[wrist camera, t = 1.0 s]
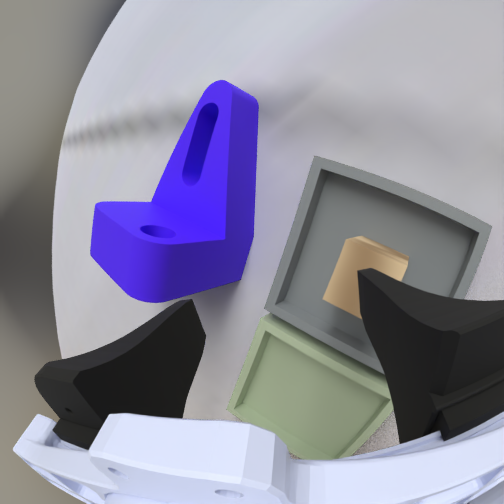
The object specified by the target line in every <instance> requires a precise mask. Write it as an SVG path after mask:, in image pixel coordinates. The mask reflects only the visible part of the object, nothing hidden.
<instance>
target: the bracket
mask: <svg viewBox="0 0 504 504" xmlns="http://www.w3.org/2000/svg"><path fill="white" fill-rule="evenodd" d="M258 109H259V106H258V102H257V100H256V99H255V98H254V97H253V96H251V95H249V94H248V93H246V92H244V91H243V90H241V89H239V88H238V87H236V86H234V85H232V84H231V83H229V82H227V81H224V80H219V81H216V82H214V83H212V84H211V85H210V86H208V88H207V89H206V90H205V91H204V93H203V95H202V97H201V99H200V100H199V102H198V104H197V106H196V108H195V109H194V111H193V113H192V115H191V117H190V119H189V121H188V123H187V125H186V127H185V129H184V131H183V133H182V135H181V137H180V139H179V141H178V143H177V145H176V147H175V149H174V151H173V153H172V155H171V157H170V160H169V162H168V164H167V166H166V168H165V171H164V173H163V175H162V177H161V180H160V182H159V184H158V187H157V189H156V191H155V194H154V196H153V199H152V201H151V202H99V203H97V204H96V205H95V211H94V219H93V227H92V238H91V250H90V254H91V256H92V258H93V259H94V260H95V261H96V262H97V263H98V264H99V265H100V266H101V268H102V269H103V270H104V271H105V272H106V273H107V274H108V275H109V276H110V277H111V278H112V279H113V280H114V281H115V282H116V283H117V284H118V285H119V286H120V287H121V288H122V289H123V290H124V291H125V292H126V293H127V294H128V295H129V296H131V297H133V298H135V299H137V300H140V301H144V302H150V303H161V302H166V301H169V300H173V299H176V298H180V297H183V296H187V295H191V294H194V293H197V292H201V291H204V290H208V289H211V288H215V287H218V286H222V285H225V284H228V283H232V282H235V281H238V280H241V277H242V274H243V270H244V267H245V264H246V260H247V257H248V254H249V250H250V247H251V244H252V240H253V237H254V214H255V188H256V162H257V135H258Z"/></svg>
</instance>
